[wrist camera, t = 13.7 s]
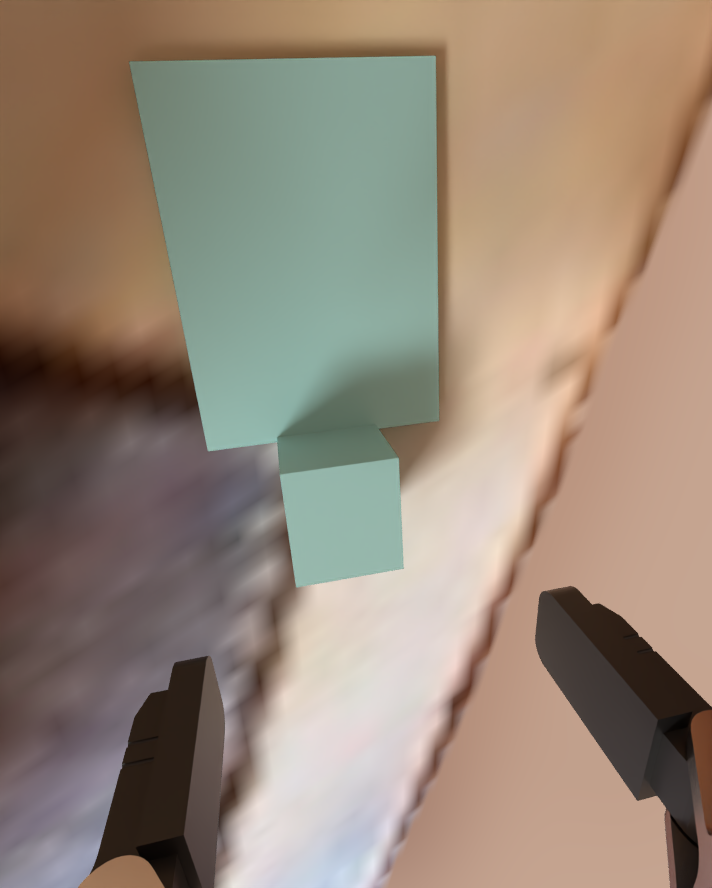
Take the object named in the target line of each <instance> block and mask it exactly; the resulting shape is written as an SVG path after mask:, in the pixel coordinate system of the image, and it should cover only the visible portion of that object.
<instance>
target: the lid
mask: <svg viewBox="0 0 712 888" xmlns="http://www.w3.org/2000/svg"><path fill="white" fill-rule="evenodd" d="M129 65H130V70H131V74H132V79H133V84H134V89H135V94H136V99H137V104H138V109H139V114H140V119H141V124H142V129H143V134H144V139H145V143H146V148H147V153H148V158H149V163H150V168H151V173H152V178H153V183H154V188H155V193H156V198H157V203H158V207H159V212H160V217H161V222H162V227H163V232H164V237H165V242H166V247H167V252H168V257H169V262H170V267H171V271H172V276H173V281H174V286H175V291H176V296H177V301H178V306H179V311H180V316H181V321H182V326H183V331H184V335H185V340H186V345H187V350H188V355H189V360H190V365H191V370H192V375H193V380H194V385H195V390H196V395H197V399H198V404H199V409H200V414H201V419H202V424H203V429H204V434H205V439H206V444H207V449H208V451H214V450H221V449H229V448H237V447H244V446H252V445H259V444H267V443H275V442H277V444H278V457H279V470H280V479H281V486H282V493H283V500H284V507H285V513H286V520H287V527H288V534H289V541H290V548H291V555H292V561H293V568H294V575H295V582H296V587H302V586H307V585H313V584H319V583H324V582H330V581H336V580H342V579H347V578H353V577H359V576H364V575H370V574H376V573H382V572H387V571H393V570H399V569H404V567H403V544H402V521H401V498H400V475H399V457H398V456H397V455H396V453H395V452H394V450H393V449H392V447H391V446H390V445H389V443H388V442H387V440H386V439H385V437H384V436H383V434H382V433H381V432H380V430H379V429H381V428H389V427H396V426H404V425H412V424H419V423H427V422H435V421H439V351H438V240H437V129H436V56H395V57H342V58H288V59H234V60H181V61H129Z"/></svg>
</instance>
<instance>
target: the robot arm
mask: <svg viewBox="0 0 712 888" xmlns="http://www.w3.org/2000/svg"><path fill="white" fill-rule="evenodd" d="M535 641H536V647H537V651H538V654H539V657H540V659H541V661H542V663H543V665H544V666H545V667H546V669H547V671H548V672H549V673H550V675H551V676H552V678H553V679H554V681H555V682H556V684H557V685H558V686H559V688H560V689H561V691H562V692H563V694H564V695H565V697H566V698H567V700H568V701H569V702H570V704H571V705H572V707H573V708H574V710H575V711H576V712H577V714H578V715H579V717H580V718H581V720H582V721H583V723H584V724H585V726H586V727H587V728H588V730H589V731H590V733H591V734H592V736H593V737H594V739H595V740H596V742H597V743H598V744H599V746H600V747H601V749H602V750H603V752H604V753H605V755H606V756H607V757H608V759H609V760H610V762H611V763H612V765H613V766H614V768H615V769H616V770H617V772H618V773H619V775H620V776H621V778H622V779H623V781H624V782H625V784H626V785H627V786H628V788H629V789H630V791H631V792H632V793H633V795H634V797H635V798H636V800H638V801H639V800H642V799H646V798H650V797H653V796H658V797H659V798H660V800H661V801H662V803H663V804H664V805H665V807H666V811H665V831H666V843H667V856H668V868H669V880H670V888H712V707H711V706H710V705H709V704H708V703H707V702H706V701H705V700H704V699H703V698H702V697H701V696H700V695H699V694H698V693H697V692H696V691H695V690H694V689H693V688H692V687H691V686H690V685H689V684H688V683H687V682H686V681H685V680H684V679H683V678H682V677H681V676H680V675H679V674H678V673H677V672H676V671H675V670H674V669H673V668H672V667H671V666H670V665H669V664H668V663H667V662H666V661H665V660H664V659H663V658H662V657H661V656H660V655H659V654H658V653H657V652H654V651H653V649H652V647H651V646H650V645H649V644H648V643H647V642H646V641H645V640H644V639H643V638H642V637H639V635H638V633H637V632H636V631H635V630H634V629H633V628H632V627H631V626H630V625H629V624H628V623H627V622H626V621H625V620H624V619H623V618H622V617H621V616H620V615H618V614H616V613H615V612H613V611H611V610H609V609H608V608H606V607H604V606H603V605H601V604H593V605H592V604H591V603H590V602H589V601H588V600H587V599H586V598H585V597H584V596H583V595H582V594H581V593H580V591H579V590H578V589H576V588H575V587H572V586H569V587H563V588H558V589H553V590H548V591H543V592H542V593H541V594H540V597H539V605H538V616H537V626H536V635H535ZM224 736H225V718H224V708H223V702H222V698H221V694H220V690H219V686H218V682H217V678H216V674H215V671H214V667H213V663H212V659H211V657H210V656H205V657H200V658H195V659H190V660H185V661H180V662H176V663H175V664H174V666H173V669H172V673H171V678H170V683H169V688H168V690H165V691H160V692H155V693H150V695H149V696H148V698H147V699H146V701H145V702H144V704H143V705H142V707H141V708H140V710H139V711H138V713H137V714H136V716H135V718H134V721H133V725H132V729H131V733H130V736H129V740H128V748H126V751H125V755H124V759H123V762H122V769H121V770H120V774H119V777H118V781H117V785H116V789H115V792H114V796H113V800H112V804H111V807H110V811H109V815H108V819H107V822H106V826H105V830H104V834H103V837H102V841H101V845H100V849H99V852H98V856H97V859H96V862H95V864H94V866H93V869H92V871H91V873H90V875H89V876H88V877H87V878H86V879H85V880H84V881H83V882H82V883H81V884H80V885H79V887H78V888H214V877H215V863H216V849H217V835H218V820H219V806H220V792H221V778H222V764H223V750H224Z"/></svg>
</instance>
